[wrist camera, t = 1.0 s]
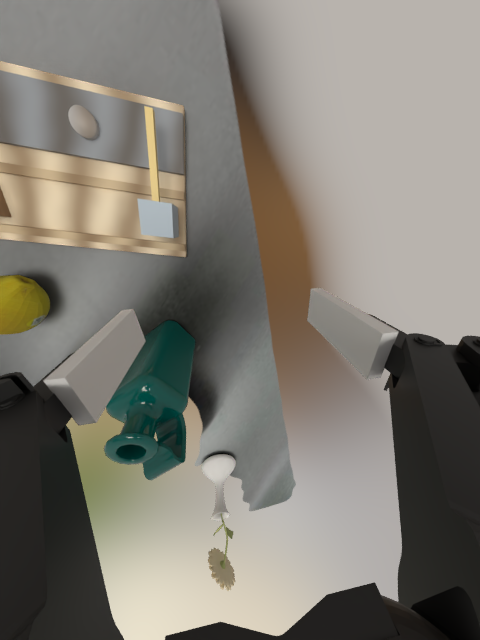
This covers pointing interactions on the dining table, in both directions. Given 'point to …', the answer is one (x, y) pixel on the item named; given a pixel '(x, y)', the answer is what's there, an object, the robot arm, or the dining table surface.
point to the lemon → (21, 304)
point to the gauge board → (85, 163)
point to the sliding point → (156, 193)
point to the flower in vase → (220, 516)
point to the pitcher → (154, 402)
